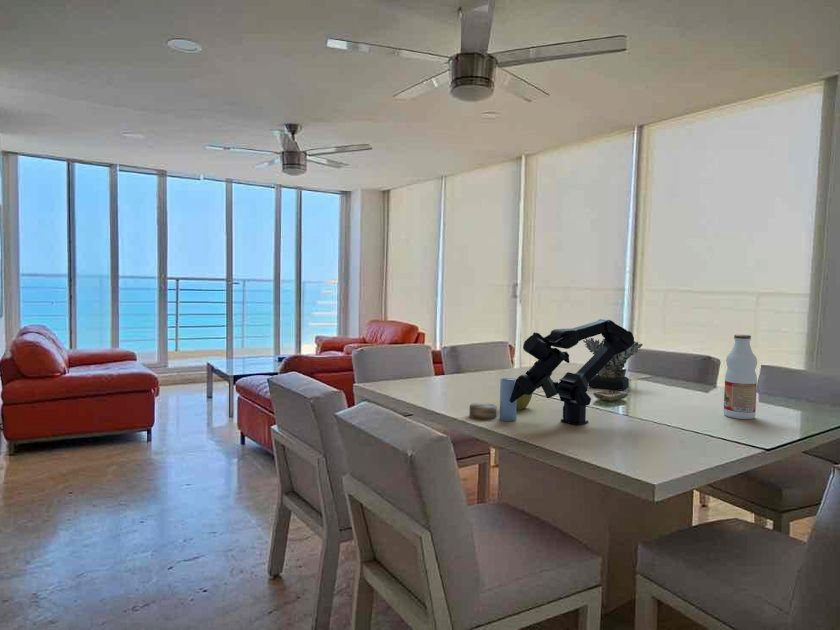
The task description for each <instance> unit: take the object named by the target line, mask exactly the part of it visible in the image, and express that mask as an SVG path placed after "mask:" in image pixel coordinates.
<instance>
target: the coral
mask: <svg viewBox="0 0 840 630" xmlns="http://www.w3.org/2000/svg"><path fill="white" fill-rule="evenodd" d="M604 339H605V338H604V337H603V338H602V340H601V342H600V339H594V337H589V338H586V339H583V340H582V342H583V343H585V344H584V346H585V347H586V348H587V350H588V351H589V352H590V353H592V355H594V354H595V353H596V352H597V351H598V350H599V349H600V348H601V347H602V346H603V344H604ZM642 347H643V343H639V342H638V341H635V340H634V343H633V345H632V346H631V347H630V348H629V349H627V350H626V351H624V352H622V353H619V354H617V355H615V356H614V357H613V358H612V359H611V360H610V361H609V362H608V363H607V364H606V365H605V366H604V367H603V368H602V369H601V370H600V372H599V373H598V374H597V375H596V376H595V377H594V378H593V379H592V380H591V381H590V382H589V384H588V388H599V389H607V390H620V391H623V390H624V389H625V390H626V388H628V387H629V385H630V384H629V383H630V378H628V377H627V376H626V373H627V372H626V371H627V369H626V368H625V365H626V364H627V362H628V359H630V358H631V357H632V356H634V355H635V354H636V353H639V349H640V348H642Z"/></svg>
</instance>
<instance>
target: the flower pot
mask: <svg viewBox="0 0 840 630" xmlns="http://www.w3.org/2000/svg"><path fill="white" fill-rule="evenodd" d="M532 396H533V393H532V394H531V395H526V394H524V395H523V396H521V397H520V398H518V399H517V407H516V410H522V409H525V408H527V407H528V405H529V403H531V402H530V401H531V399H532Z"/></svg>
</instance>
